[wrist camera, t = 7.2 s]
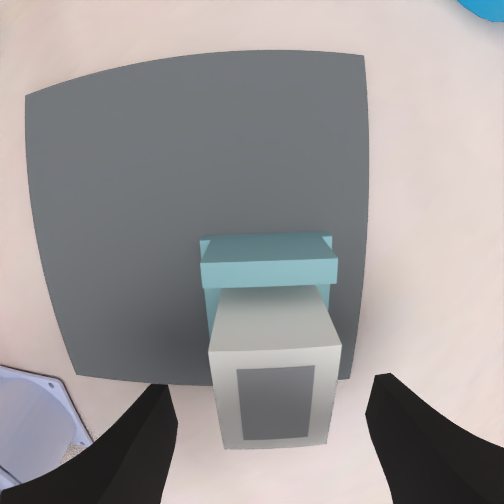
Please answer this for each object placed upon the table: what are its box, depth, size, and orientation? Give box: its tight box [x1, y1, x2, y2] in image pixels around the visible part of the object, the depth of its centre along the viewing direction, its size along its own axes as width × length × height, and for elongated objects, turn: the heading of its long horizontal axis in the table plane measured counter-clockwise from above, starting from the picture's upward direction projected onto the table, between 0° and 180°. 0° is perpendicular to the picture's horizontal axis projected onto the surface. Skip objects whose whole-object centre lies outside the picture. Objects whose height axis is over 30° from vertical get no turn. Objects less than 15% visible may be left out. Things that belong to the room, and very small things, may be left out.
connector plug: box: [208, 285, 342, 449], centre depth 13 cm, size 4×5×6 cm
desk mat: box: [25, 50, 369, 386], centre depth 15 cm, size 18×18×1 cm
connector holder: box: [200, 232, 338, 339], centre depth 14 cm, size 6×8×4 cm
